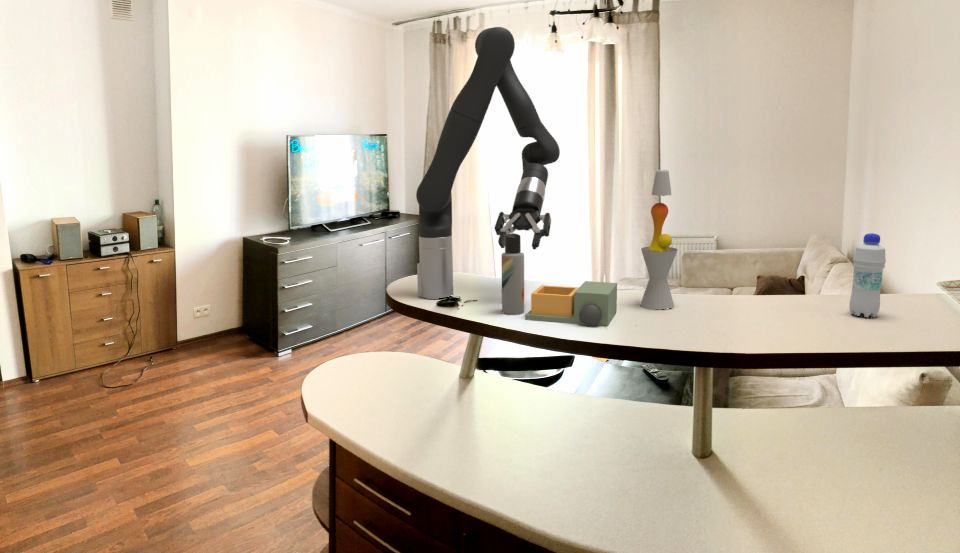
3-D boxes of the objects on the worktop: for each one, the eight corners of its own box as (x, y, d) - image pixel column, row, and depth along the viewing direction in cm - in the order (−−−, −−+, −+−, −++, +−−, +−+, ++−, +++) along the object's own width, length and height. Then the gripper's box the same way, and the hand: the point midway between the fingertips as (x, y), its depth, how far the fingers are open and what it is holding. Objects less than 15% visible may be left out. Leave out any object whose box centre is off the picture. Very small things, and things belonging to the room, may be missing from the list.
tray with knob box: (523, 321, 158) (523, 290, 157) (540, 305, 173) (541, 277, 171) (606, 327, 151) (607, 295, 150) (617, 310, 166) (618, 281, 165)
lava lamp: (632, 306, 171) (636, 170, 164) (650, 299, 177) (655, 168, 170) (663, 311, 165) (669, 171, 158) (681, 305, 171) (687, 169, 164)
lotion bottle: (523, 309, 170) (522, 232, 166) (525, 314, 164) (525, 235, 160) (501, 309, 169) (500, 232, 165) (502, 315, 164) (502, 236, 160)
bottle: (874, 312, 160) (883, 231, 156) (883, 319, 154) (892, 235, 150) (844, 311, 162) (852, 231, 158) (851, 318, 156) (860, 235, 152)
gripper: (501, 188, 175) (487, 237, 167) (553, 189, 170) (542, 239, 162) (507, 206, 181) (494, 254, 173) (557, 207, 176) (547, 256, 168)
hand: (517, 246), depth 167 cm, fingers open, 8 cm apart
